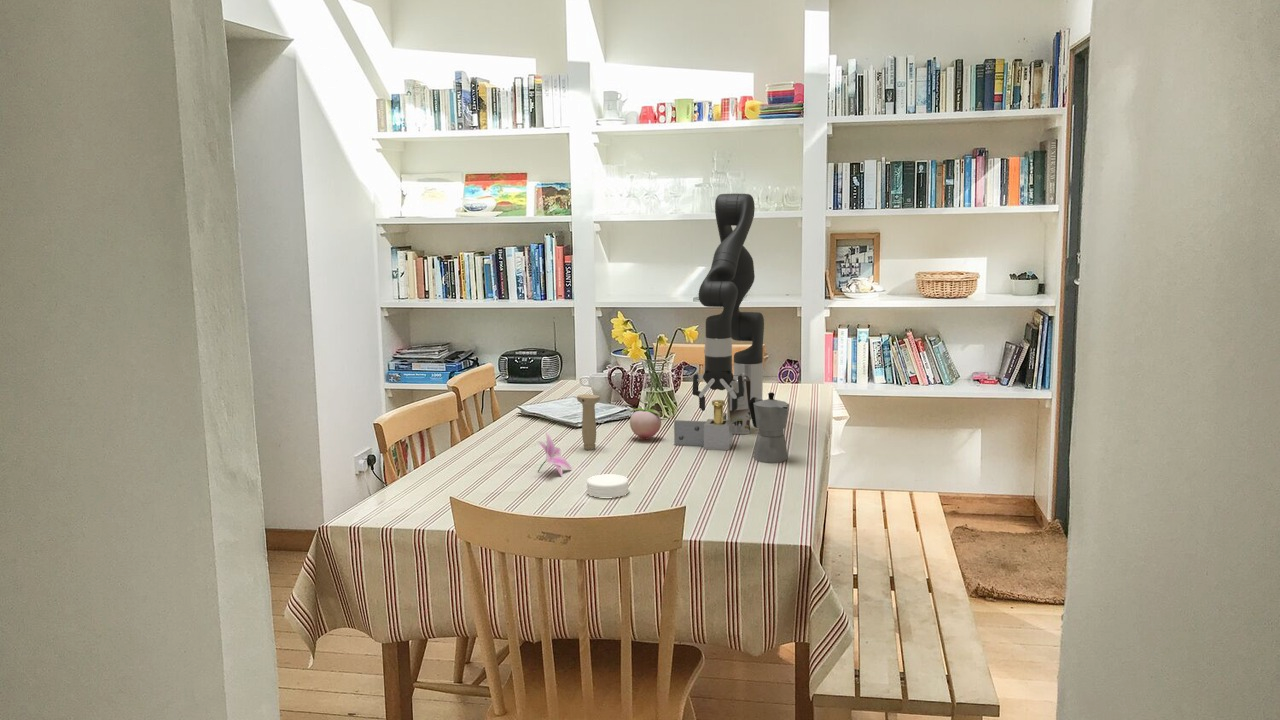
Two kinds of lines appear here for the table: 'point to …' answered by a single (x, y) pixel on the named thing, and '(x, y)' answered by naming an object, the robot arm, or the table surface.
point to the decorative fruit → (645, 422)
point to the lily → (554, 455)
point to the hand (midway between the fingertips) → (718, 410)
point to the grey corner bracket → (704, 433)
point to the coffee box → (740, 408)
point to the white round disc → (607, 485)
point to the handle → (588, 419)
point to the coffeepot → (769, 428)
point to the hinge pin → (718, 411)
